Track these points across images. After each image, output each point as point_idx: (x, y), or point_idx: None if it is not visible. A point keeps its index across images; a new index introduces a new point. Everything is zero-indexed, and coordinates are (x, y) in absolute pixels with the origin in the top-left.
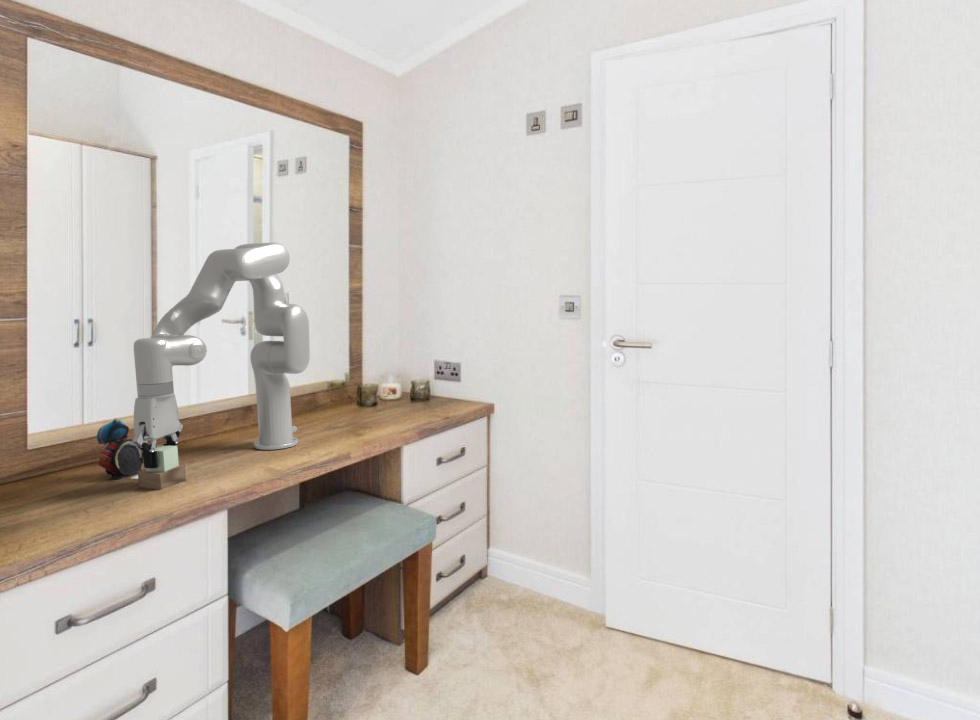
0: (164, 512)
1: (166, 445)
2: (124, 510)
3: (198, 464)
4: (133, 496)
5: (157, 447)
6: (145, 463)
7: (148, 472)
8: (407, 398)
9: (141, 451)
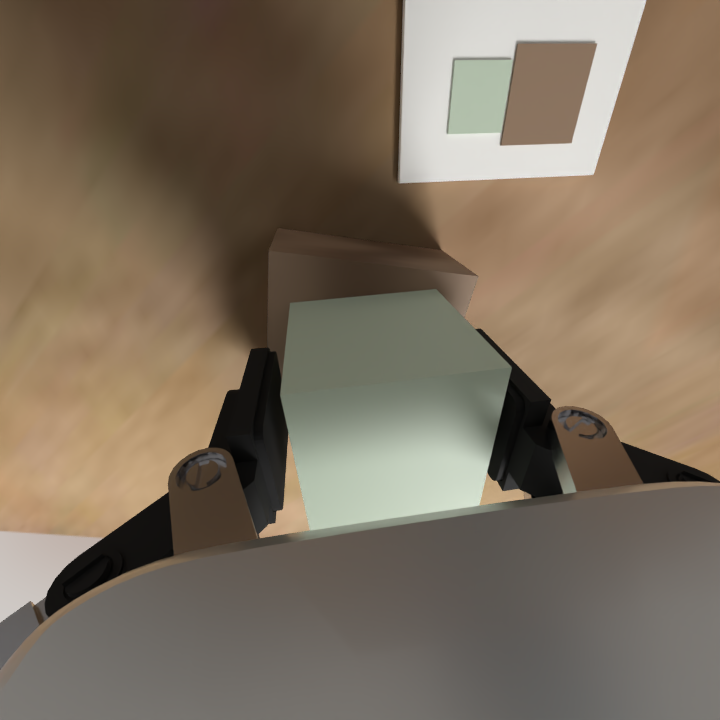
0: (95, 535)
1: (507, 426)
2: (10, 427)
3: (669, 257)
4: (147, 327)
5: (423, 418)
6: (227, 399)
7: (274, 341)
8: None
9: (183, 464)
